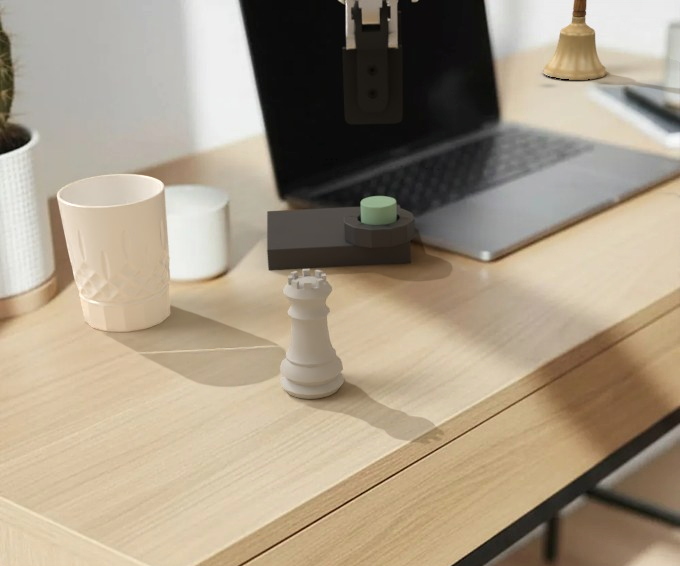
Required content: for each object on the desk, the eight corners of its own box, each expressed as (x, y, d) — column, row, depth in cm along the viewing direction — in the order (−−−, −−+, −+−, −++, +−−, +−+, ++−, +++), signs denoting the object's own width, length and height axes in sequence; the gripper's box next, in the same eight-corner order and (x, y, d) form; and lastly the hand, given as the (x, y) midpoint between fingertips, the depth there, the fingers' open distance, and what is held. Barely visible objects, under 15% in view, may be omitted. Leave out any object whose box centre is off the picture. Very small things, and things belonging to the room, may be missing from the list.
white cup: (150, 341, 90) (134, 210, 84) (58, 330, 92) (36, 202, 87) (195, 301, 96) (182, 177, 91) (107, 292, 98) (89, 170, 93)
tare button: (394, 215, 102) (394, 194, 102) (398, 226, 100) (398, 206, 99) (359, 216, 102) (359, 196, 101) (362, 228, 100) (361, 207, 99)
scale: (404, 224, 110) (404, 186, 108) (417, 268, 100) (417, 227, 99) (268, 231, 109) (265, 193, 108) (268, 275, 100) (265, 235, 98)
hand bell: (613, 68, 159) (624, -65, 150) (597, 82, 152) (608, -56, 144) (552, 64, 162) (560, -66, 153) (534, 78, 155) (541, -57, 147)
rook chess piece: (319, 366, 85) (313, 258, 81) (358, 387, 82) (355, 276, 78) (267, 385, 83) (259, 275, 79) (305, 407, 80) (299, 294, 76)
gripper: (448, -244, 54) (444, 139, 63) (436, -247, 69) (434, 65, 78) (282, -237, 54) (302, 143, 64) (305, -241, 69) (318, 69, 78)
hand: (374, 100), depth 71 cm, fingers open, 9 cm apart
